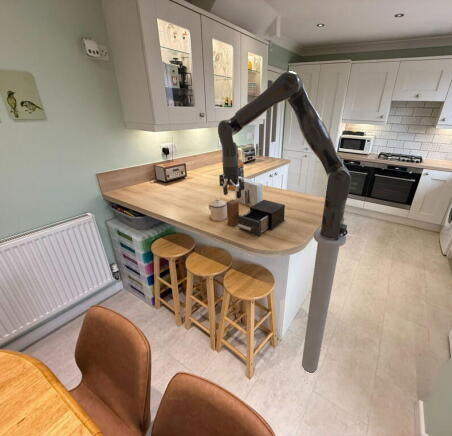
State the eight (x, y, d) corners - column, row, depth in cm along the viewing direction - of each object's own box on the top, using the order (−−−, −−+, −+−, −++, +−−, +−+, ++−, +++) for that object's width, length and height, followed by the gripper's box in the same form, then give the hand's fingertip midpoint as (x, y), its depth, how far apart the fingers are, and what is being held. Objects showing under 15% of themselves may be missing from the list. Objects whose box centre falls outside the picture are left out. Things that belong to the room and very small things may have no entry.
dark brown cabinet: (271, 230, 120) (271, 213, 115) (250, 223, 126) (249, 207, 122) (284, 220, 130) (284, 204, 125) (263, 214, 136) (263, 199, 132)
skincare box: (234, 200, 156) (233, 177, 149) (241, 198, 160) (240, 176, 153) (256, 209, 143) (256, 185, 136) (263, 207, 146) (263, 183, 139)
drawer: (254, 240, 109) (254, 225, 105) (234, 233, 115) (233, 219, 112) (272, 226, 121) (273, 213, 118) (253, 220, 127) (253, 207, 124)
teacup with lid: (230, 217, 133) (229, 198, 128) (219, 223, 127) (217, 203, 122) (215, 211, 140) (214, 193, 135) (204, 217, 133) (202, 198, 128)
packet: (239, 223, 127) (238, 200, 121) (233, 226, 123) (232, 203, 118) (233, 221, 129) (232, 199, 123) (227, 224, 125) (226, 202, 120)
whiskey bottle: (228, 189, 176) (225, 146, 162) (233, 185, 185) (231, 144, 171) (240, 191, 173) (239, 146, 159) (245, 187, 182) (244, 144, 168)
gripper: (214, 164, 113) (217, 195, 120) (237, 168, 106) (238, 201, 113) (224, 161, 118) (226, 191, 125) (246, 164, 111) (247, 196, 118)
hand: (232, 196), depth 119 cm, fingers open, 8 cm apart
